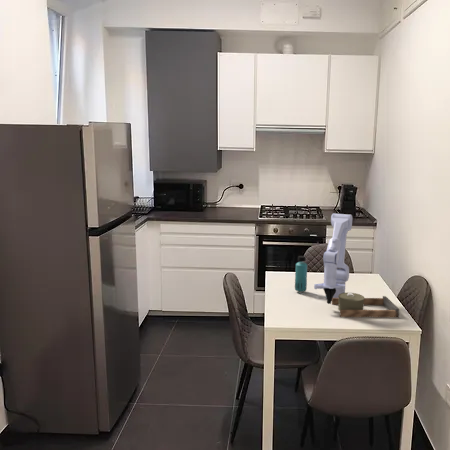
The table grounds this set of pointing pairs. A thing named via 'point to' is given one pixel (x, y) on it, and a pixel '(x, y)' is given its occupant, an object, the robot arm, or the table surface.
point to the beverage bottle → (301, 274)
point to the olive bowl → (350, 301)
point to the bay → (391, 312)
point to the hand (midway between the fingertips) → (328, 303)
